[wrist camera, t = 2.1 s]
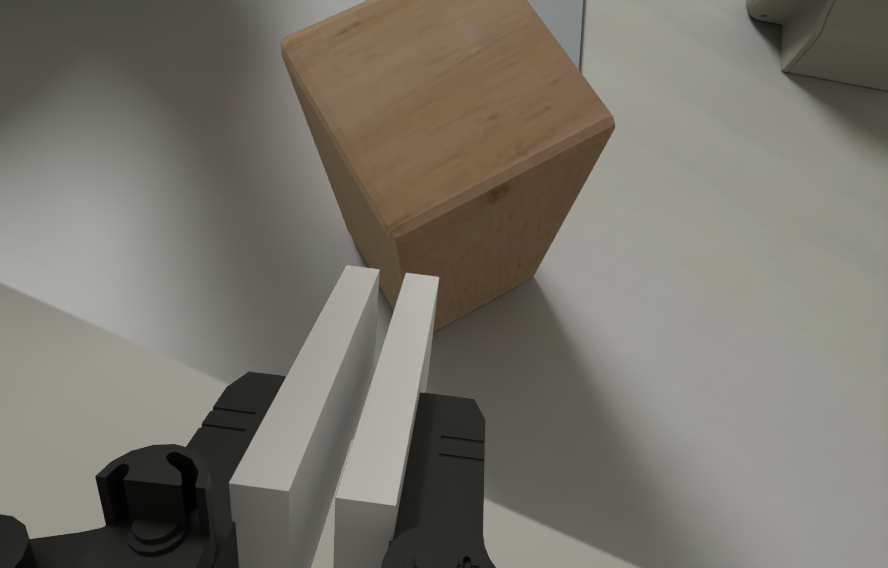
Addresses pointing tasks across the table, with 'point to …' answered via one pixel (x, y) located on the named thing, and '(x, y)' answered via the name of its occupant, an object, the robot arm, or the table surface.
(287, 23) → the table surface
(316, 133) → the wooden block
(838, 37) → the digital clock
